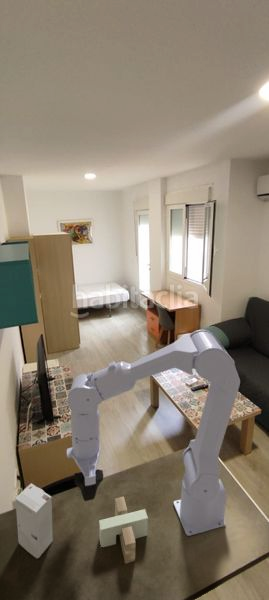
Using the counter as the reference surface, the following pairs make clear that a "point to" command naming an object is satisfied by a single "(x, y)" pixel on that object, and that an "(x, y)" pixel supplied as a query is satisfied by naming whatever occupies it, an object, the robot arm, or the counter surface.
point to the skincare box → (34, 520)
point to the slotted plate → (122, 526)
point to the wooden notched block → (125, 532)
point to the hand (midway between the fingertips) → (87, 482)
